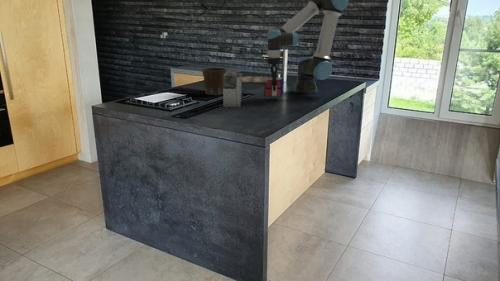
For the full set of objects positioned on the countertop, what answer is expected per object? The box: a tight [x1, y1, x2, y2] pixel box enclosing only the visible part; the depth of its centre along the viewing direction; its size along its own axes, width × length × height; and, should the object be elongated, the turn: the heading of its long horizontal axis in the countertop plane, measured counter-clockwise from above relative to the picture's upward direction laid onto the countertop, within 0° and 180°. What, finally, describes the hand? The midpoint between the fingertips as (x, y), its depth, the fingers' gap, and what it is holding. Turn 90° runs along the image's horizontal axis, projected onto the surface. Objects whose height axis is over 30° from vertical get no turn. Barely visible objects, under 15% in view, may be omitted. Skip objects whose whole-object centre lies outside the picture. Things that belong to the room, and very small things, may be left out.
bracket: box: [222, 72, 243, 108], centre depth 227 cm, size 10×19×16 cm, turn 179°
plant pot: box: [201, 67, 228, 96], centre depth 254 cm, size 16×16×16 cm
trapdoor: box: [223, 72, 268, 86], centre depth 226 cm, size 24×16×6 cm, turn 89°
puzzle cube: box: [263, 76, 284, 98], centre depth 237 cm, size 10×10×10 cm
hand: (273, 94), depth 239 cm, fingers closed on puzzle cube, 11 cm apart
